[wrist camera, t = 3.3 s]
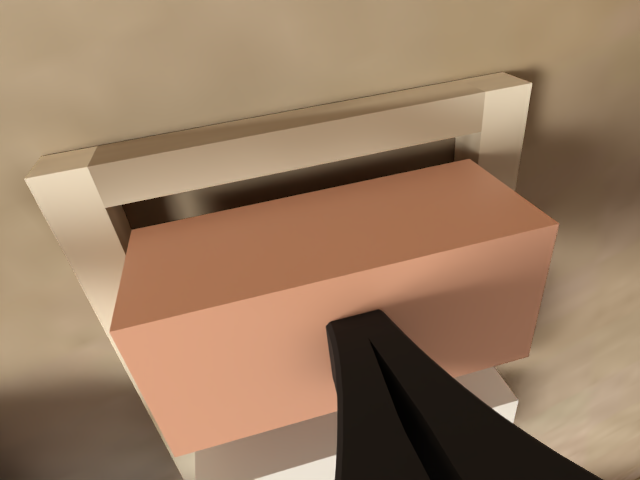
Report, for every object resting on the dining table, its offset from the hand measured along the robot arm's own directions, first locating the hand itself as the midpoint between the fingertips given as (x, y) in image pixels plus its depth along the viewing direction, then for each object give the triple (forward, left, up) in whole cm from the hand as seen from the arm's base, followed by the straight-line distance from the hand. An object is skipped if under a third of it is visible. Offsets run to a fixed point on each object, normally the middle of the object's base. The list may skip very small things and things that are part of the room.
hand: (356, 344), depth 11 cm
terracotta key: (0, 0, -4) cm, 4 cm away
